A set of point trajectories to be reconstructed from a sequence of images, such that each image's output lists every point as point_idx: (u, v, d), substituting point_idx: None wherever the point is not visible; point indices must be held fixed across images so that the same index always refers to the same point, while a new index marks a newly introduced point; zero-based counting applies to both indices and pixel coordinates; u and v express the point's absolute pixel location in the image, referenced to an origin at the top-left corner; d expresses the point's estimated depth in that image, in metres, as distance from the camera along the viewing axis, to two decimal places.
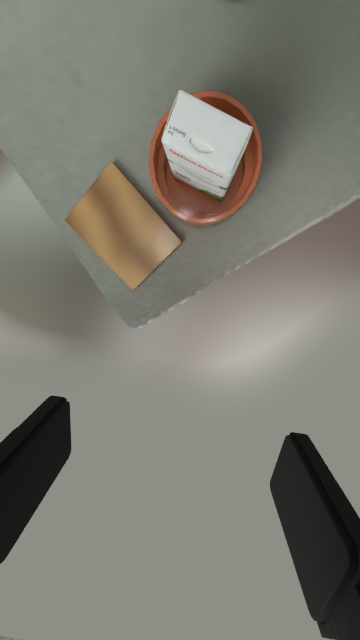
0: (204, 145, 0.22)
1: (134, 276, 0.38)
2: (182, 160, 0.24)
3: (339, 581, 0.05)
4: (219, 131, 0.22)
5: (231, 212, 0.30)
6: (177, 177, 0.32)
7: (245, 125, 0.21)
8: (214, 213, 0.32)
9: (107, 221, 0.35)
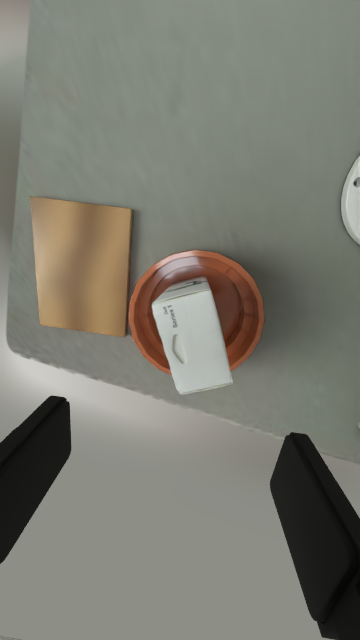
0: (183, 351, 0.17)
1: (53, 316, 0.29)
2: None
3: (339, 581, 0.05)
4: (205, 357, 0.17)
5: None
6: None
7: (229, 375, 0.18)
8: None
9: (74, 248, 0.26)
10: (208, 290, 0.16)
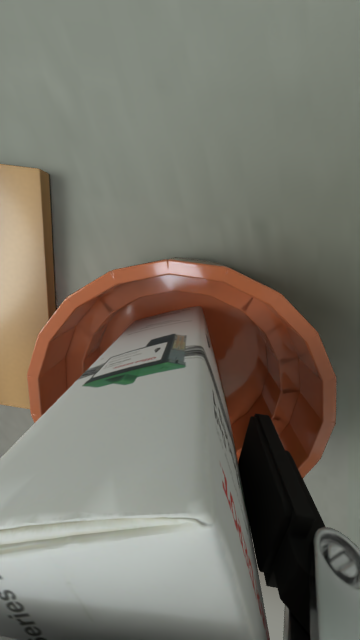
0: None
1: None
2: None
3: (278, 533, 0.06)
4: None
5: None
6: None
7: None
8: None
9: None
10: (201, 524, 0.03)
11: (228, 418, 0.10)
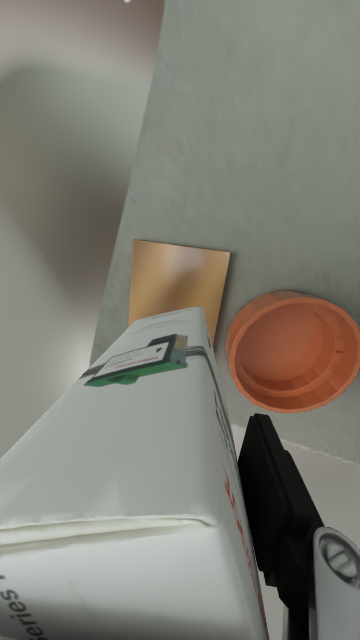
0: None
1: None
2: None
3: (277, 533, 0.06)
4: None
5: (268, 409, 0.27)
6: None
7: None
8: (255, 385, 0.29)
9: (170, 287, 0.28)
10: (205, 524, 0.03)
11: (228, 418, 0.10)
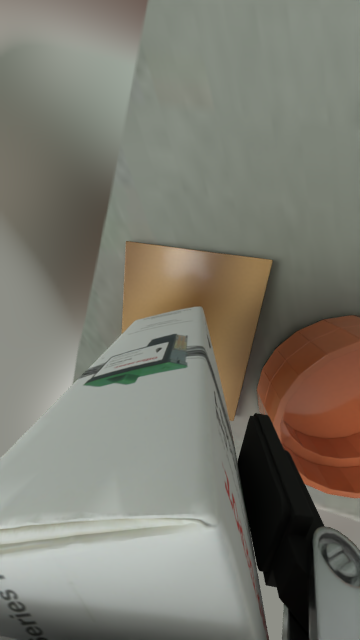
0: None
1: None
2: None
3: (277, 533, 0.06)
4: None
5: (326, 491, 0.18)
6: None
7: None
8: (303, 450, 0.20)
9: None
10: (205, 525, 0.03)
11: (228, 418, 0.10)
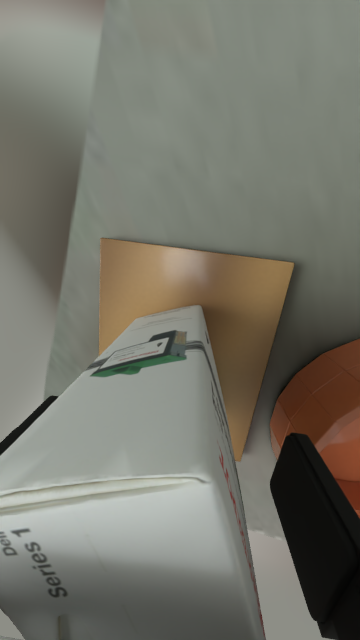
0: None
1: None
2: None
3: (339, 581, 0.05)
4: None
5: None
6: None
7: None
8: None
9: None
10: (201, 481, 0.03)
11: (225, 411, 0.11)
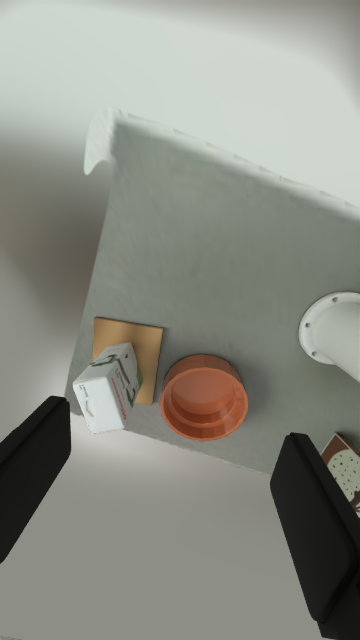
0: (93, 409, 0.29)
1: None
2: None
3: (339, 581, 0.05)
4: (106, 413, 0.29)
5: (189, 438, 0.39)
6: None
7: (121, 424, 0.29)
8: (183, 419, 0.40)
9: None
10: (105, 378, 0.27)
11: (132, 378, 0.35)
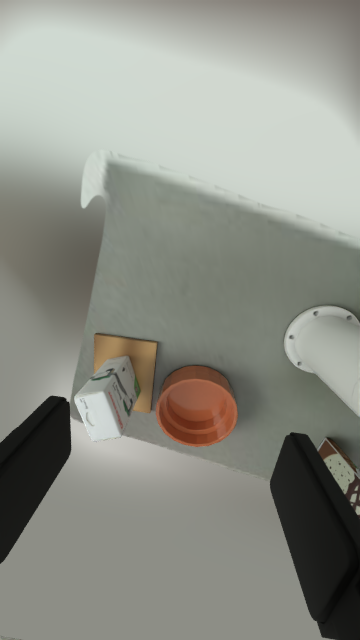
0: (92, 420, 0.32)
1: None
2: None
3: (339, 581, 0.05)
4: (104, 423, 0.32)
5: (184, 443, 0.41)
6: None
7: (118, 433, 0.32)
8: (179, 426, 0.43)
9: None
10: (102, 392, 0.30)
11: (129, 390, 0.38)
